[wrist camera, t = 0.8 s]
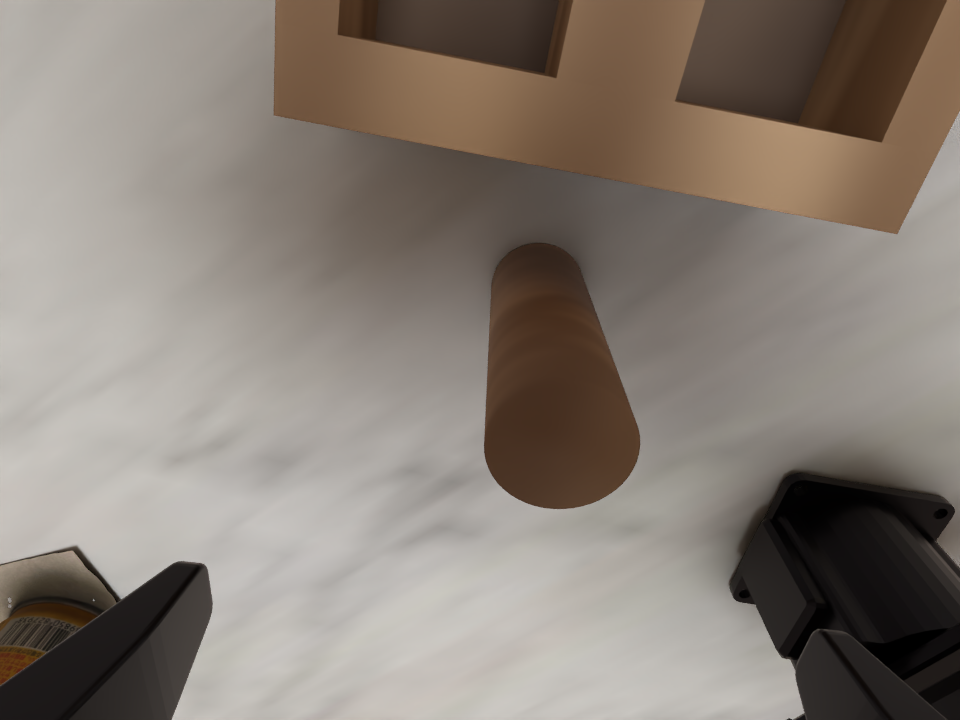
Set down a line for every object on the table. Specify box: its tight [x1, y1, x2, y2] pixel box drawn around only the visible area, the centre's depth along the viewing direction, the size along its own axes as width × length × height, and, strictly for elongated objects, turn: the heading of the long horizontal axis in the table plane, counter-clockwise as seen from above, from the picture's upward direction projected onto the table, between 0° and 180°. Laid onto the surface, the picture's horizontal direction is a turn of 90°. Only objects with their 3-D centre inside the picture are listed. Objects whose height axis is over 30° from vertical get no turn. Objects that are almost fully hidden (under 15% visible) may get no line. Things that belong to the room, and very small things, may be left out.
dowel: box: [484, 243, 640, 509], centre depth 16 cm, size 3×3×9 cm
